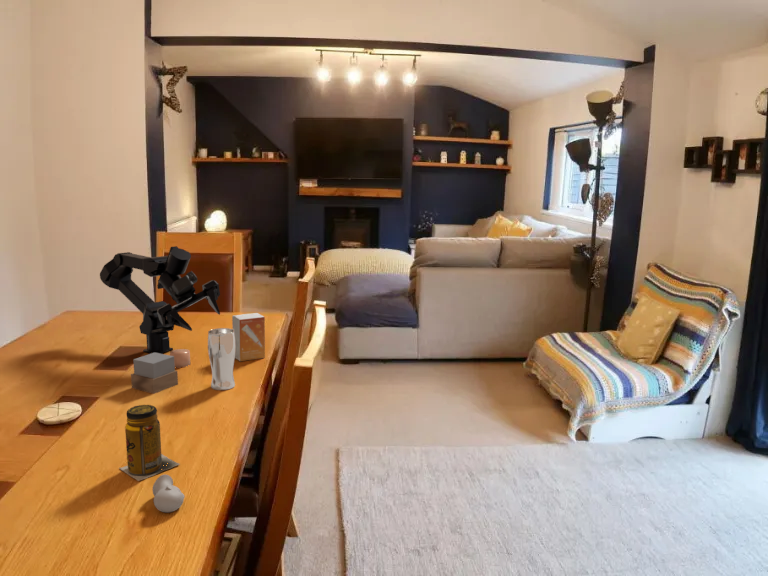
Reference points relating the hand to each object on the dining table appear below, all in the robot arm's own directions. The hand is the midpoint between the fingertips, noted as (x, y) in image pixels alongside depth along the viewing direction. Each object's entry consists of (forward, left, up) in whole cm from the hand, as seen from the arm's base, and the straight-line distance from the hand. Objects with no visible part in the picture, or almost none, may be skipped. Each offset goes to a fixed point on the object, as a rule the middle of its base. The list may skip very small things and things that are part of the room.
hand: (205, 321), depth 171 cm
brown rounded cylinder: (-8, -3, -14) cm, 16 cm away
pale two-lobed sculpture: (+47, -57, -14) cm, 75 cm away
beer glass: (+15, -10, -14) cm, 23 cm away
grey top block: (0, -19, -10) cm, 21 cm away
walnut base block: (0, -19, -14) cm, 23 cm away
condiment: (+34, -50, -14) cm, 62 cm away
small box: (+4, +13, -14) cm, 19 cm away
